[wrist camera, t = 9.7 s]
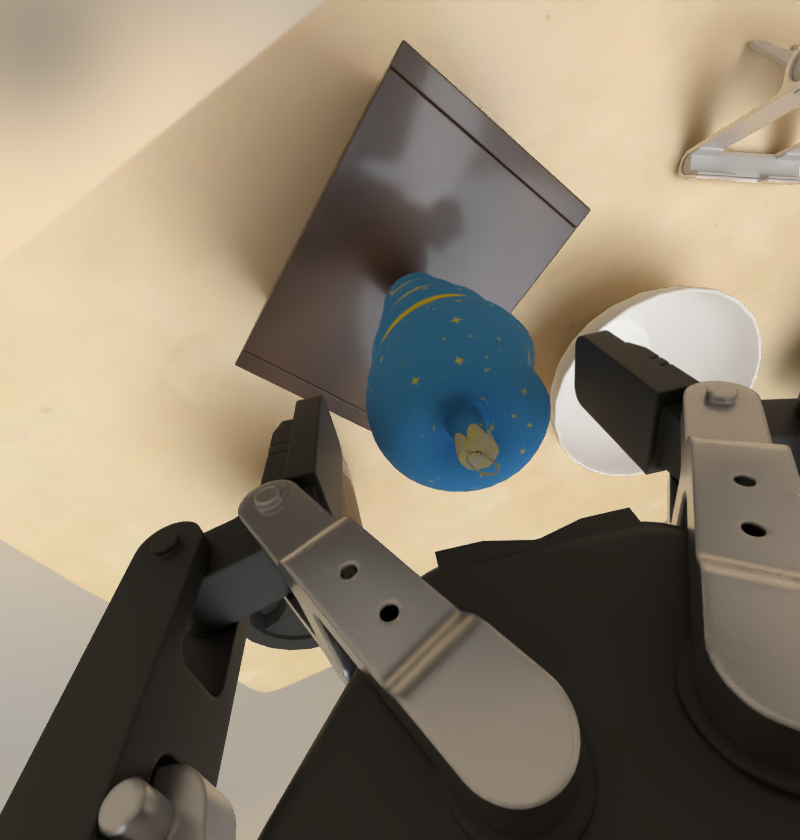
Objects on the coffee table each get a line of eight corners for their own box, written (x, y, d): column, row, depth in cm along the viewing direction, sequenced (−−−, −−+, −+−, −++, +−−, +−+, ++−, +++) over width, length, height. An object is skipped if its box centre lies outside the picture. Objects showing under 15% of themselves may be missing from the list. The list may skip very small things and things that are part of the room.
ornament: (438, 347, 24) (550, 570, 11) (345, 326, 23) (350, 551, 10) (470, 249, 21) (660, 393, 9) (367, 221, 20) (412, 340, 7)
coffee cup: (252, 413, 38) (208, 544, 25) (380, 430, 40) (398, 557, 28) (245, 510, 44) (206, 658, 31) (358, 520, 46) (365, 661, 33)
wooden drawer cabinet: (266, 299, 33) (234, 365, 23) (379, 80, 27) (403, 38, 17) (388, 367, 37) (406, 448, 27) (509, 190, 31) (591, 209, 21)
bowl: (733, 286, 37) (808, 312, 31) (640, 441, 45) (685, 485, 39) (567, 244, 34) (615, 264, 28) (496, 420, 41) (523, 465, 35)
